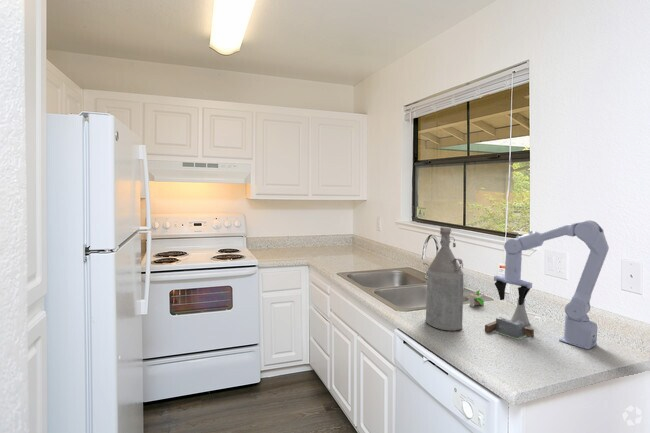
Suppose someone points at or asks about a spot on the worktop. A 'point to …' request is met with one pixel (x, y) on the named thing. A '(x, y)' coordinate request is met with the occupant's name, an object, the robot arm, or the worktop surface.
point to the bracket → (510, 327)
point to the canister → (445, 287)
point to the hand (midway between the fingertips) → (511, 302)
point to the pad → (511, 336)
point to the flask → (520, 313)
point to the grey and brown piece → (492, 327)
